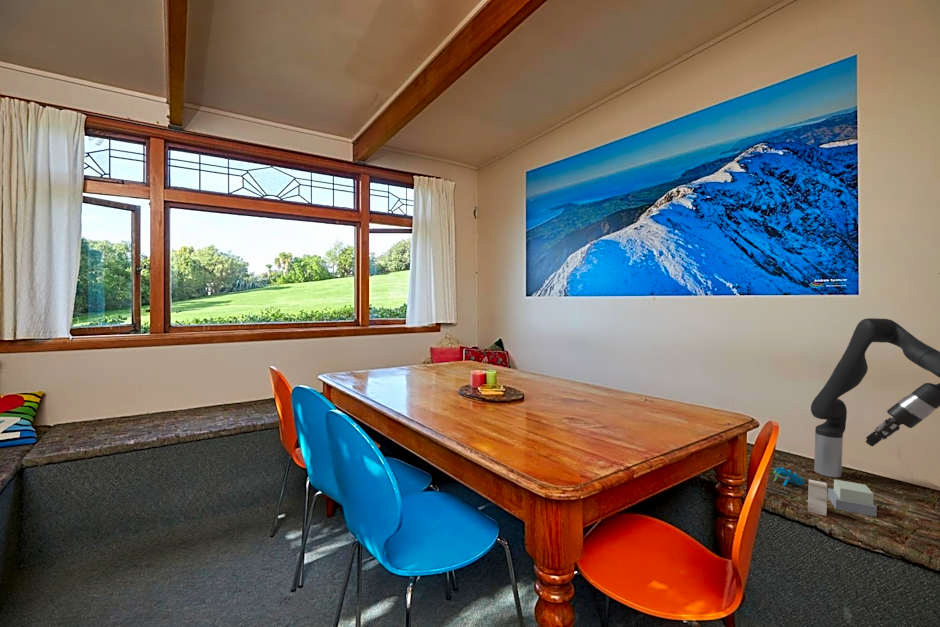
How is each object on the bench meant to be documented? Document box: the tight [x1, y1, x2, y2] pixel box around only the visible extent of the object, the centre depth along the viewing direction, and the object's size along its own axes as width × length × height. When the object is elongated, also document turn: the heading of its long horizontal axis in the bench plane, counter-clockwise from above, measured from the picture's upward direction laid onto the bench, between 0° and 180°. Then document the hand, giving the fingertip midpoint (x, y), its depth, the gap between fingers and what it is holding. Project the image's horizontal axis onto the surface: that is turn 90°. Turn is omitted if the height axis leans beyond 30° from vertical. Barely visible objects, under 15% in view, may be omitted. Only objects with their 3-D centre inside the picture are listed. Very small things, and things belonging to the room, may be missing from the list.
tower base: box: [827, 487, 878, 518], centre depth 154 cm, size 11×11×4 cm
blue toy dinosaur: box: [773, 466, 805, 487], centre depth 172 cm, size 11×6×10 cm
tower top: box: [833, 479, 875, 505], centre depth 154 cm, size 9×9×4 cm
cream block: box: [807, 479, 828, 517], centre depth 150 cm, size 5×5×10 cm
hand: (868, 442), depth 145 cm, fingers open, 8 cm apart
